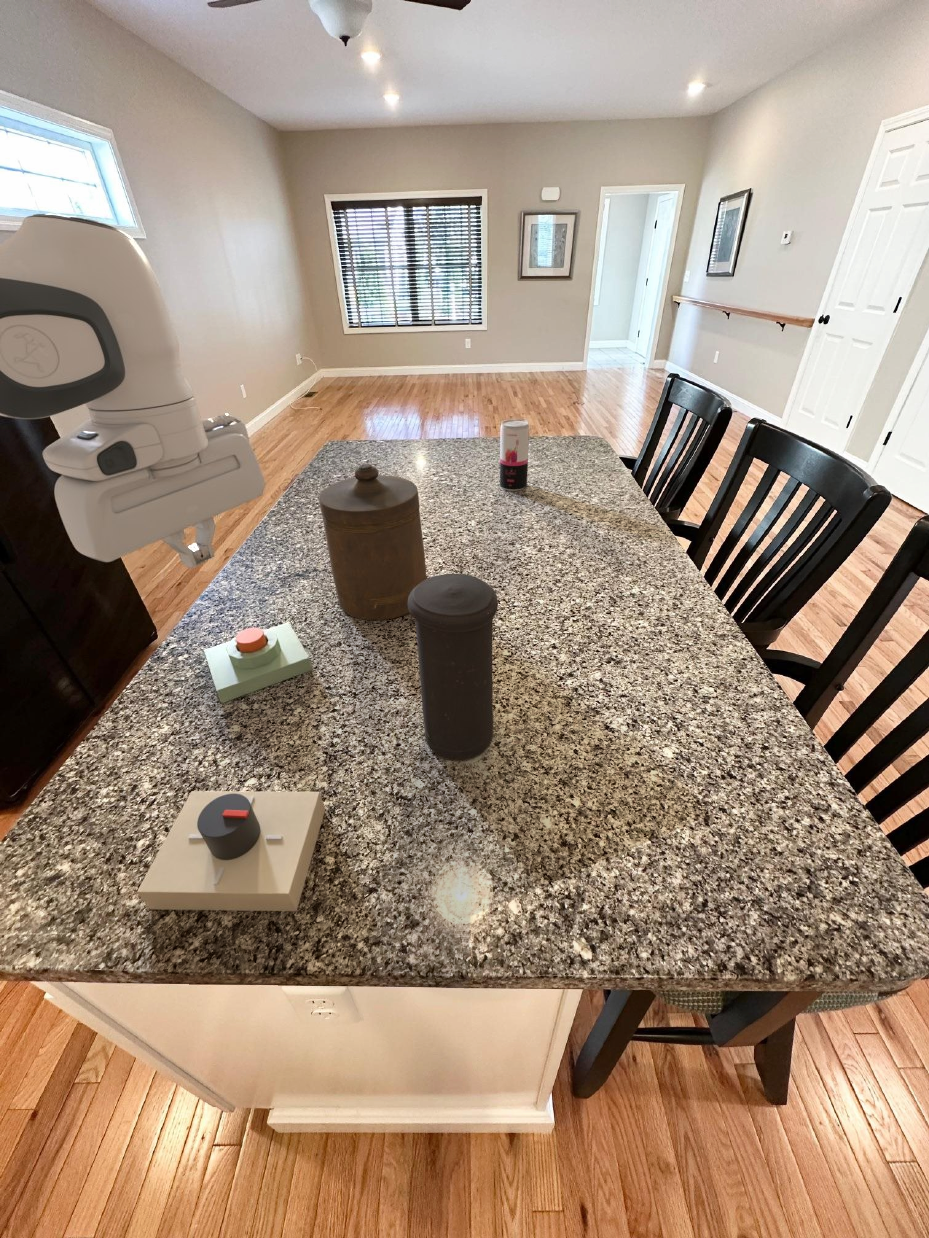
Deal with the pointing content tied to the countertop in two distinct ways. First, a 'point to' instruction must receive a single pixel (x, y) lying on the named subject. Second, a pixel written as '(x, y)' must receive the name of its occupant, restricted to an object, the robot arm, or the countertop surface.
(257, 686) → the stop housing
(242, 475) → the robot arm
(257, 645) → the stop button
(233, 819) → the timer knob
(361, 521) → the wooden container
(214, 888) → the panel
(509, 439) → the beverage can
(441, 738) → the container
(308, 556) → the countertop surface
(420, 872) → the countertop surface
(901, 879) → the countertop surface
